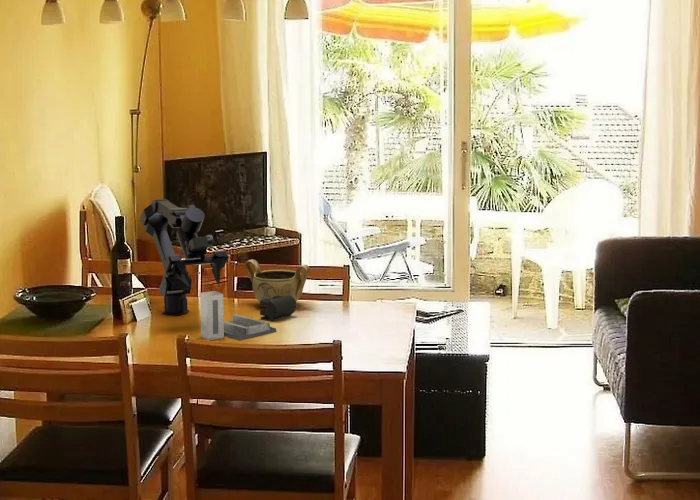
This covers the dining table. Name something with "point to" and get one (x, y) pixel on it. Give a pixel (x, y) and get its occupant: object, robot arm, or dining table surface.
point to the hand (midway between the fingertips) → (204, 284)
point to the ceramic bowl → (276, 281)
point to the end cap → (277, 307)
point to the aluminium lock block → (212, 315)
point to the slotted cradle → (246, 328)
